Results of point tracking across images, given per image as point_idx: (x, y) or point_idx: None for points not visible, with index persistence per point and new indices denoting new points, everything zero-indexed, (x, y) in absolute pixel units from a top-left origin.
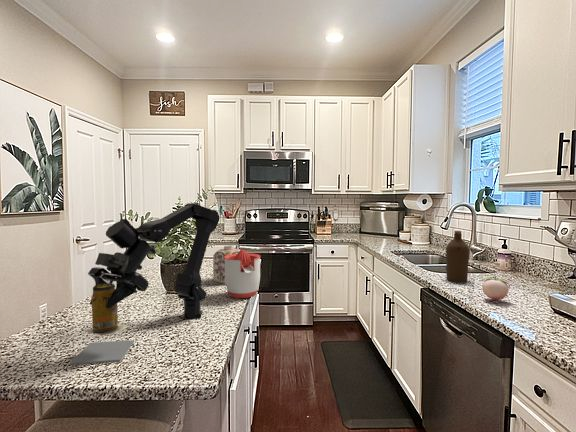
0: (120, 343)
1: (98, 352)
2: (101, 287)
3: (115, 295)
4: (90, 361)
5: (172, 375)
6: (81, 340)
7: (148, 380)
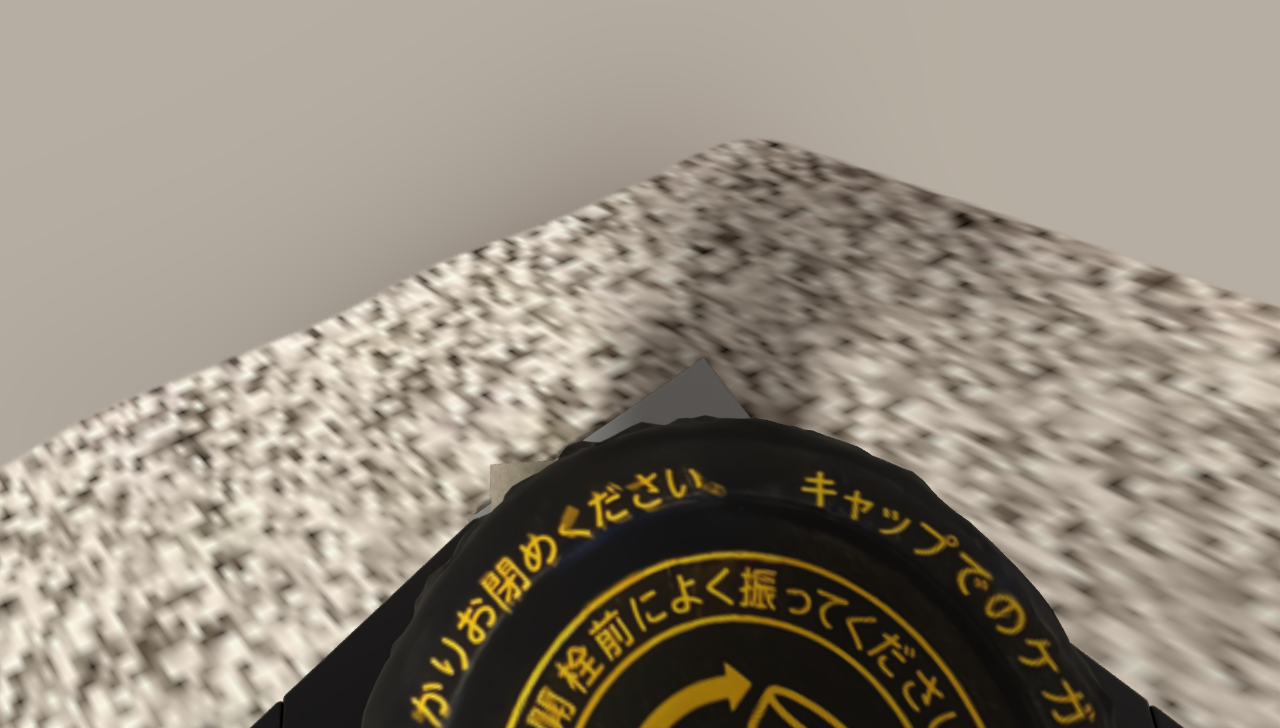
0: None
1: None
2: (525, 535)
3: (284, 719)
4: (614, 421)
5: (65, 538)
6: None
7: (168, 442)
